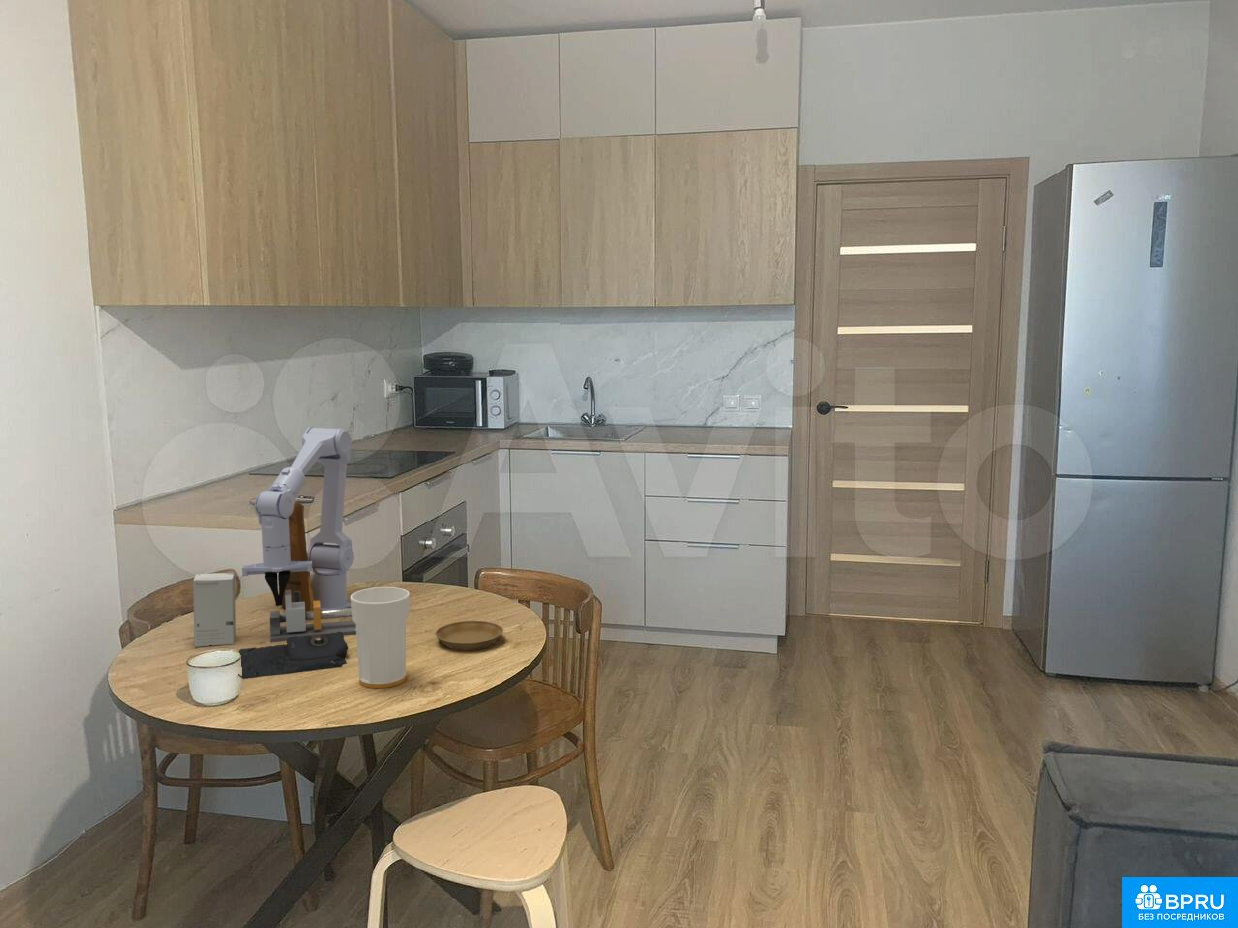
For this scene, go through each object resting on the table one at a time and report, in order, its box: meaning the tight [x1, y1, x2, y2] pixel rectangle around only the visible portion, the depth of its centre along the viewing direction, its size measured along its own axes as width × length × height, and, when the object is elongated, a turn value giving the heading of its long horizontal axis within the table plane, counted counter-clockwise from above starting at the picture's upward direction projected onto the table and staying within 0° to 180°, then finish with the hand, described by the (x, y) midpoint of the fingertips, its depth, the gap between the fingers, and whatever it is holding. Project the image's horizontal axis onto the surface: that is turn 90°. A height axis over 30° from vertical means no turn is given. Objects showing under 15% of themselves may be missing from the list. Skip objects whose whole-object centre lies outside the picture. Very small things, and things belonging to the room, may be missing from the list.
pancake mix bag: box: [281, 501, 314, 612], centre depth 230 cm, size 7×19×28 cm, turn 38°
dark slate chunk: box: [237, 632, 349, 680], centre depth 199 cm, size 15×22×5 cm
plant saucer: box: [434, 620, 504, 651], centre depth 211 cm, size 15×15×3 cm
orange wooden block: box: [313, 601, 322, 630], centre depth 216 cm, size 2×5×5 cm, turn 18°
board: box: [269, 619, 356, 643], centre depth 217 cm, size 26×8×1 cm, turn 108°
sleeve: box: [285, 590, 307, 633], centre depth 214 cm, size 4×5×8 cm
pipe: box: [269, 607, 352, 637], centre depth 217 cm, size 26×5×5 cm, turn 108°
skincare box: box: [192, 572, 237, 648], centre depth 209 cm, size 8×6×15 cm
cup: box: [350, 586, 411, 689], centre depth 188 cm, size 11×11×17 cm
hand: (279, 604), depth 213 cm, fingers closed
